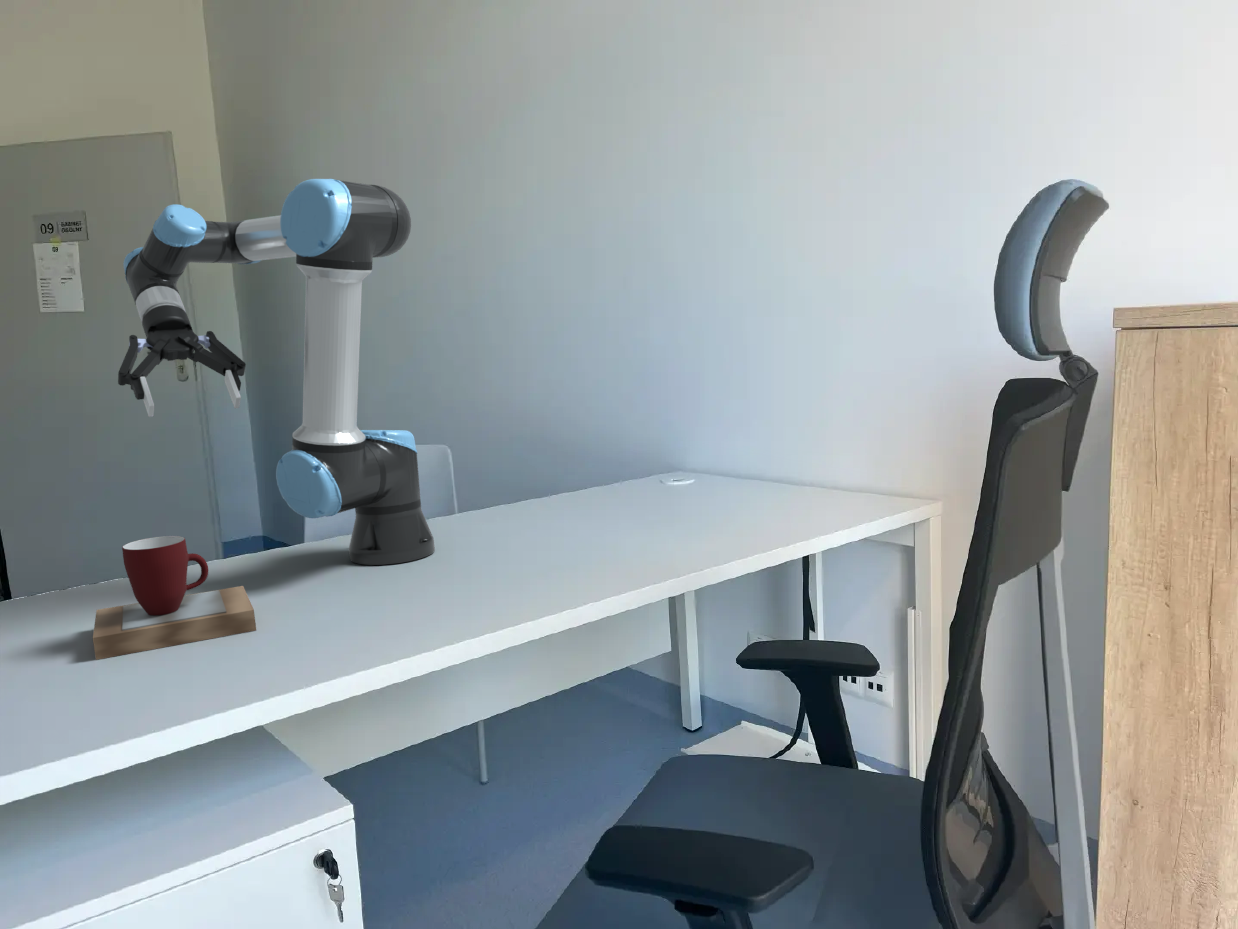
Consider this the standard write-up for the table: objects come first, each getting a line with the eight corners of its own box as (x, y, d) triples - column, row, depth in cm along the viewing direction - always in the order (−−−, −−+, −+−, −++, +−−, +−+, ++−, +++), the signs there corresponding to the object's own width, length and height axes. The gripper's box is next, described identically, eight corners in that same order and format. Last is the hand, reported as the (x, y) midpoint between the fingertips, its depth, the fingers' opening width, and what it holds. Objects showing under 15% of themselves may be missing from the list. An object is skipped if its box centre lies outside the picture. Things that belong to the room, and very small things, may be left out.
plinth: (245, 604, 149) (242, 584, 149) (256, 630, 136) (253, 608, 135) (99, 629, 140) (96, 608, 140) (95, 659, 127) (92, 636, 127)
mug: (200, 595, 144) (192, 530, 142) (220, 605, 138) (211, 537, 136) (124, 613, 137) (114, 544, 135) (141, 624, 131) (131, 552, 129)
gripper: (234, 330, 180) (268, 414, 171) (84, 338, 166) (112, 430, 156) (239, 300, 175) (274, 384, 166) (85, 305, 161) (113, 398, 151)
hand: (195, 407), depth 161 cm, fingers open, 13 cm apart
